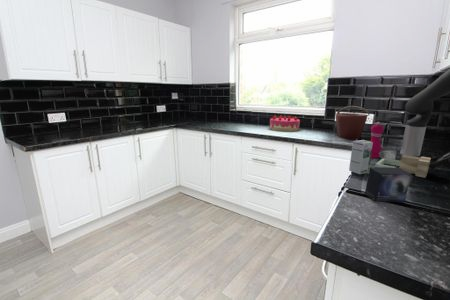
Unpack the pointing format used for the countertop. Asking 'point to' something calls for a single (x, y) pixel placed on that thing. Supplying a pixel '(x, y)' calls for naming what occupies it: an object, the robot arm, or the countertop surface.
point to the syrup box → (360, 156)
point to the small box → (387, 184)
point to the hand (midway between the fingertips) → (430, 167)
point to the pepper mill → (376, 139)
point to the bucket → (350, 123)
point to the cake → (284, 123)
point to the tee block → (415, 165)
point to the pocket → (387, 161)
